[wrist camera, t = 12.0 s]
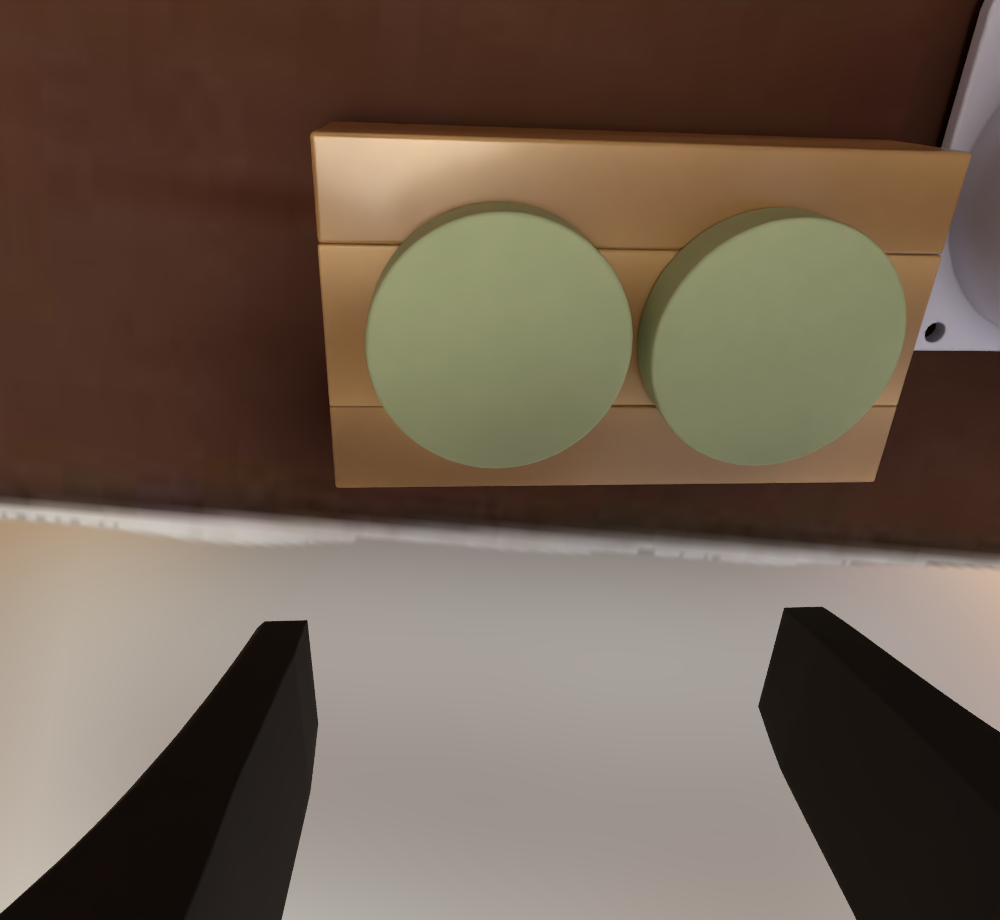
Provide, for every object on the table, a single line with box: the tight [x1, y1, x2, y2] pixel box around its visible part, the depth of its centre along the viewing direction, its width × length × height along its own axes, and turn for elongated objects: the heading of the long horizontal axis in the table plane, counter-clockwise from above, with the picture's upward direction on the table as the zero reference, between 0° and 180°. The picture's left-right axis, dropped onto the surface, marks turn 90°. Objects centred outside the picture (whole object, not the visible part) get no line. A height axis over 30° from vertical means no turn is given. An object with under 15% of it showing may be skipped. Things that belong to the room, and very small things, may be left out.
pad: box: [365, 202, 633, 468], centre depth 16 cm, size 5×5×4 cm
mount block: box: [310, 121, 971, 488], centre depth 17 cm, size 7×13×3 cm, turn 88°
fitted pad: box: [637, 207, 906, 466], centre depth 17 cm, size 5×5×4 cm
